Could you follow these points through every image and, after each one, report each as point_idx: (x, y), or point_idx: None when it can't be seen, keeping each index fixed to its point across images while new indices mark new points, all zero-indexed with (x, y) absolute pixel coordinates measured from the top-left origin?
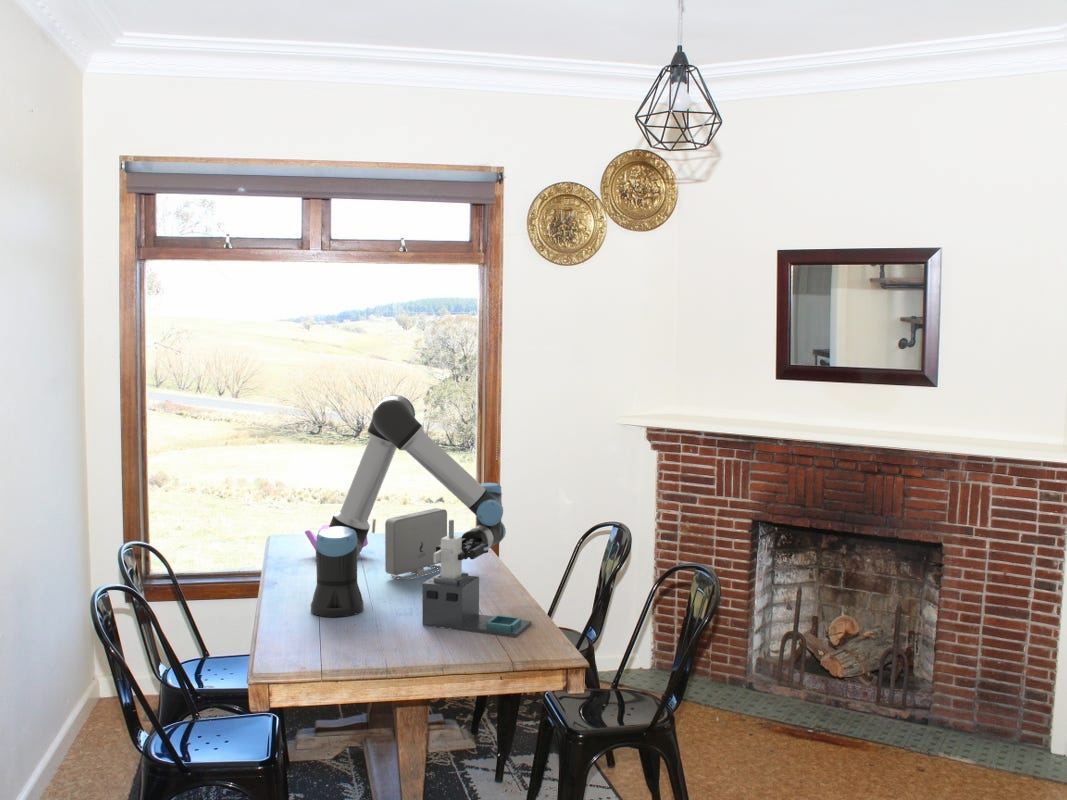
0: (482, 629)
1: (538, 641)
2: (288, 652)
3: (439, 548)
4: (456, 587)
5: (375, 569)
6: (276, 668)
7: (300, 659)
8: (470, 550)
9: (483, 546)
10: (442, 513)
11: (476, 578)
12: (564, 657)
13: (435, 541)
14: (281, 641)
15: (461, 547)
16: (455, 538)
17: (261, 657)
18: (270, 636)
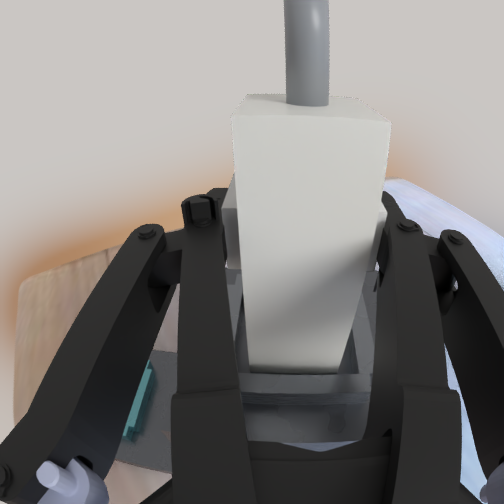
0: (162, 351)
1: (49, 331)
2: (431, 210)
3: (438, 244)
4: (229, 269)
5: None
6: (397, 184)
7: (400, 200)
8: (158, 227)
9: (37, 412)
10: None
11: (169, 396)
12: (32, 278)
13: None
14: (472, 230)
15: (237, 210)
16: (266, 101)
17: (437, 198)
18: (496, 239)
